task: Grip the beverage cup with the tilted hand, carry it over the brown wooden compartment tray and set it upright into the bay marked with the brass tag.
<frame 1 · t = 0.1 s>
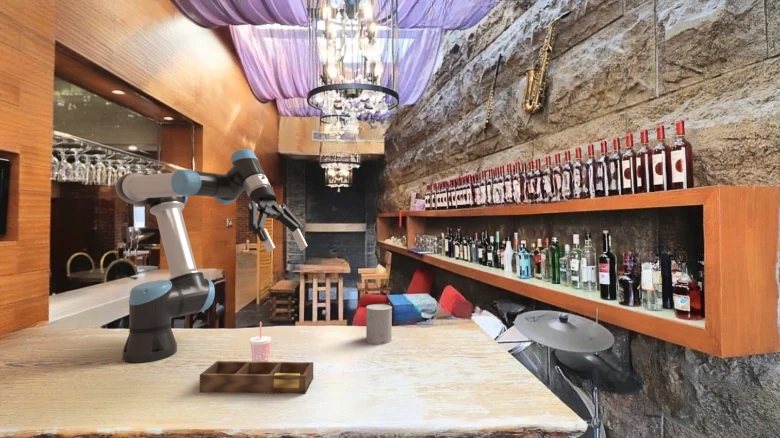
hand: (288, 249, 114), 36 cm above the bar counter, tool tilted 35°, fingers open, 13 cm apart
gray concrete cylinder: (378, 340, 143), on the bar counter
brown wooden compartment tray: (258, 385, 103), on the bar counter
beverage cup: (260, 369, 114), on the bar counter
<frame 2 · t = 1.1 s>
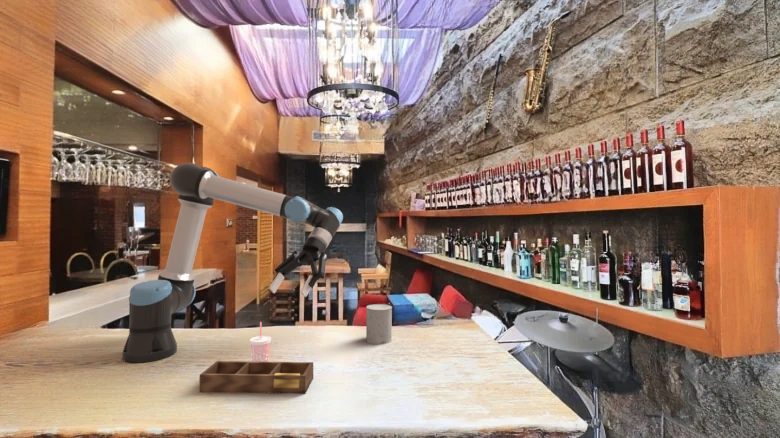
hand: (286, 292, 123), 21 cm above the bar counter, tool tilted 45°, fingers open, 13 cm apart
nothing on the bar counter moved.
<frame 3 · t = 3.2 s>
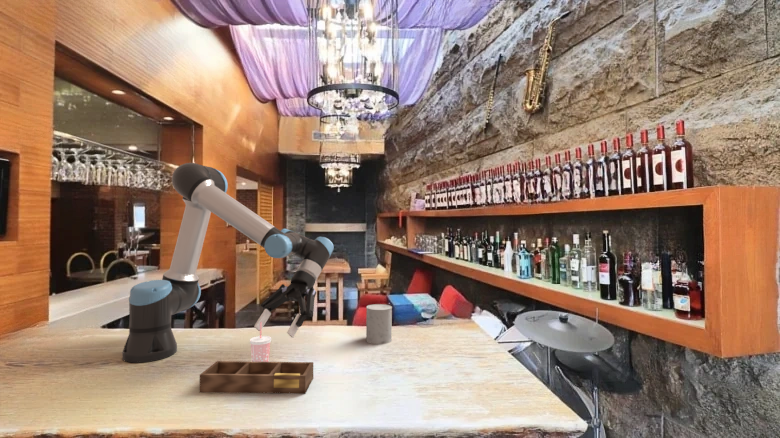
hand: (273, 332, 117), 10 cm above the bar counter, tool tilted 45°, fingers open, 13 cm apart
nothing on the bar counter moved.
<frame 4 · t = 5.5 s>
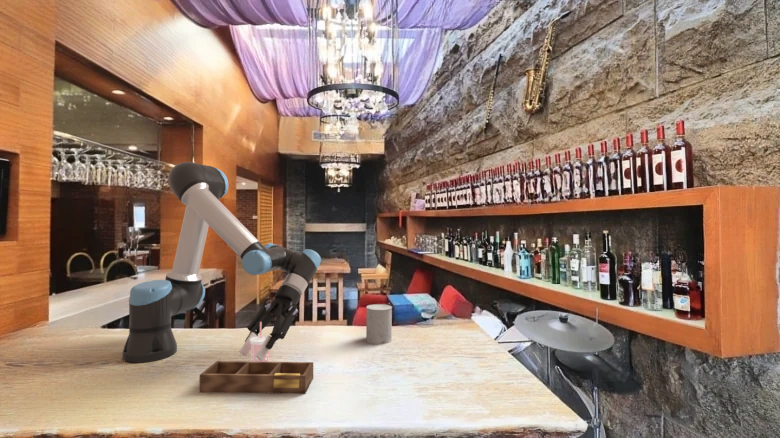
hand: (250, 356, 111), 5 cm above the bar counter, tool tilted 45°, fingers closed on beverage cup, 6 cm apart
beverage cup: (260, 369, 114), on the bar counter, touching gripper
everything else where it was.
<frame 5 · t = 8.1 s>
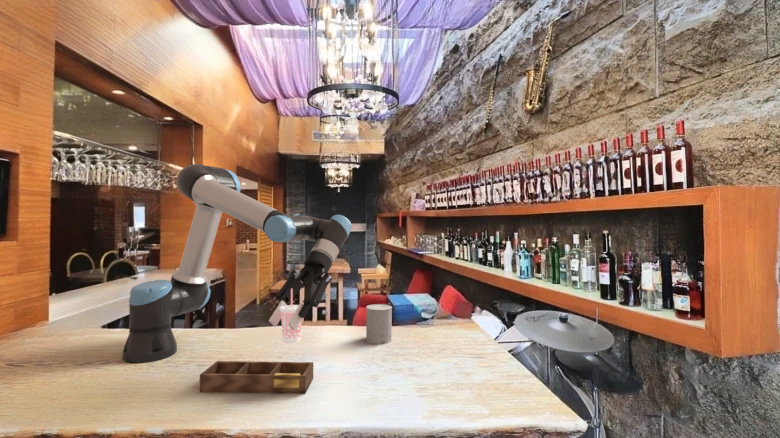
hand: (281, 325, 101), 17 cm above the bar counter, tool tilted 45°, fingers closed on beverage cup, 6 cm apart
beverage cup: (291, 341, 104), point 12 cm above the bar counter, touching gripper
everything else where it was.
when the fingers open (7 cm above the bar counter, at t = 10.9 s): beverage cup stays where it is, resting on brown wooden compartment tray.
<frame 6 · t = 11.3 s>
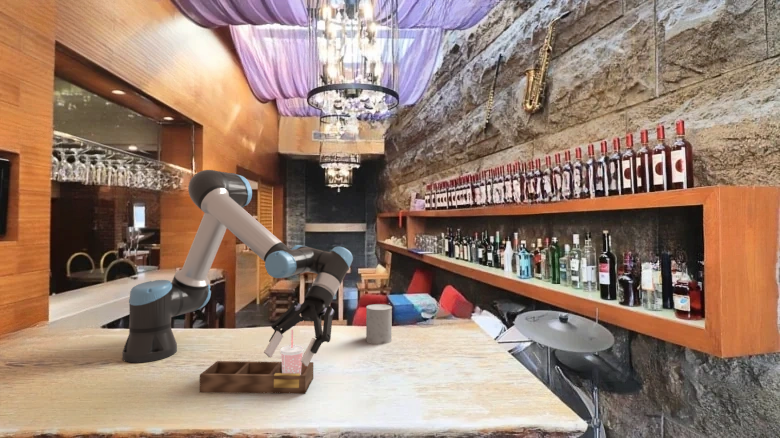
hand: (285, 359, 101), 8 cm above the bar counter, tool tilted 45°, fingers open, 12 cm apart
beverage cup: (291, 382, 103), point 1 cm above the bar counter, touching brown wooden compartment tray
everything else where it was.
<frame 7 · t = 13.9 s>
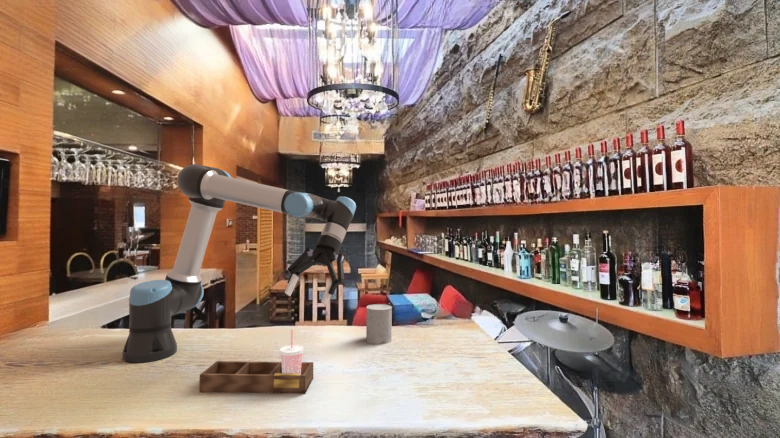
hand: (305, 299, 118), 20 cm above the bar counter, tool tilted 30°, fingers open, 13 cm apart
nothing on the bar counter moved.
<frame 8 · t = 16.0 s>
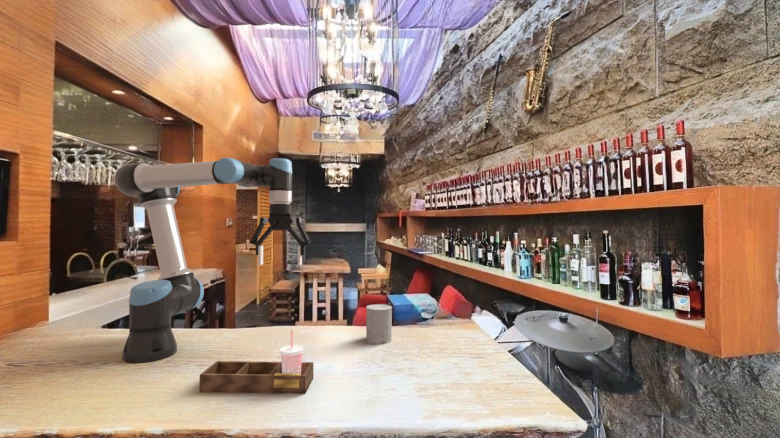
hand: (280, 264, 133), 29 cm above the bar counter, tool pointing down, fingers open, 13 cm apart
nothing on the bar counter moved.
at the end: beverage cup 0.1 cm from the target spot on the brown wooden compartment tray, point 0.6 cm above the brown wooden compartment tray's base; beverage cup tilted 0°; the gripper is holding nothing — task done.
